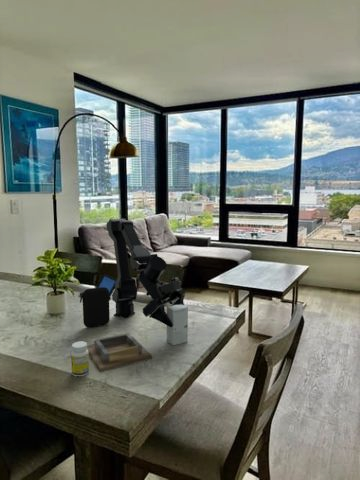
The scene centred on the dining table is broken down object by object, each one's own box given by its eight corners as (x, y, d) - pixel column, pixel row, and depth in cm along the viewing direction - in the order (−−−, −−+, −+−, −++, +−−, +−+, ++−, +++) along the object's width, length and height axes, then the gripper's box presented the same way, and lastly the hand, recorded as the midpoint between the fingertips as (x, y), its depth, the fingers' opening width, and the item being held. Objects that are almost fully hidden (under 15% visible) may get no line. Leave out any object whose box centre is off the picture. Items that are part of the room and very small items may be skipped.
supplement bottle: (73, 368, 102) (72, 340, 101) (90, 368, 102) (89, 340, 101) (70, 377, 97) (68, 348, 96) (87, 376, 98) (86, 347, 96)
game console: (78, 295, 171) (77, 277, 170) (104, 290, 180) (104, 273, 178) (92, 304, 159) (91, 284, 158) (119, 298, 167) (119, 279, 166)
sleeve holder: (85, 349, 114) (85, 338, 114) (132, 339, 122) (132, 329, 121) (100, 371, 100) (99, 359, 100) (152, 358, 108) (151, 347, 107)
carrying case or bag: (81, 330, 129) (80, 291, 127) (80, 327, 132) (78, 288, 130) (110, 325, 134) (109, 287, 131) (108, 322, 136) (107, 285, 134)
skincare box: (173, 345, 117) (173, 310, 115) (165, 341, 120) (165, 306, 119) (188, 341, 120) (188, 307, 118) (181, 337, 124) (181, 303, 122)
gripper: (149, 276, 111) (179, 317, 107) (181, 266, 127) (208, 301, 123) (130, 297, 117) (158, 336, 112) (163, 284, 132) (188, 318, 128)
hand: (179, 322), depth 119 cm, fingers open, 9 cm apart
